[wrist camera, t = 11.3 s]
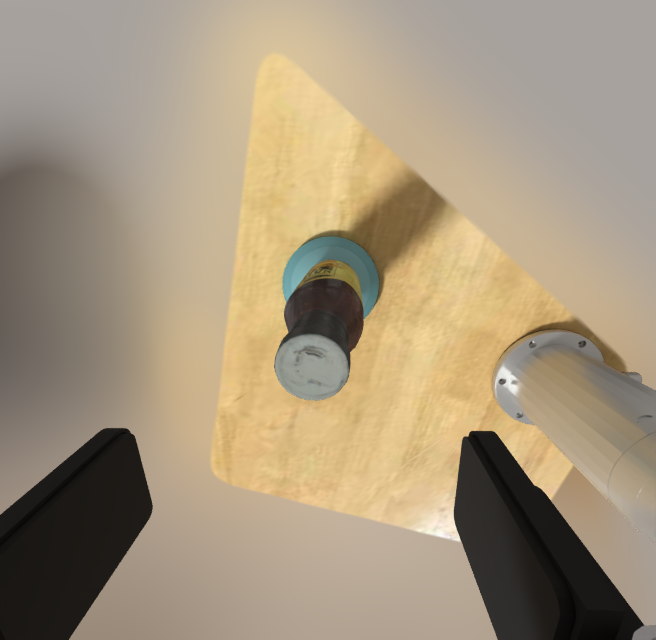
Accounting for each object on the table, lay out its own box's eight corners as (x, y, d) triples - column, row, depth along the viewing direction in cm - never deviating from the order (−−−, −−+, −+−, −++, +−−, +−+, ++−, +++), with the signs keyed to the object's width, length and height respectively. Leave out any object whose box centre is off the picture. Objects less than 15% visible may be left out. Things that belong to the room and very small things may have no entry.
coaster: (379, 234, 33) (380, 234, 33) (377, 329, 37) (378, 331, 36) (280, 237, 34) (278, 238, 33) (287, 330, 37) (285, 332, 36)
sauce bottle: (329, 246, 33) (311, 273, 14) (371, 283, 34) (406, 356, 15) (292, 289, 35) (230, 367, 16) (332, 324, 36) (320, 436, 17)
